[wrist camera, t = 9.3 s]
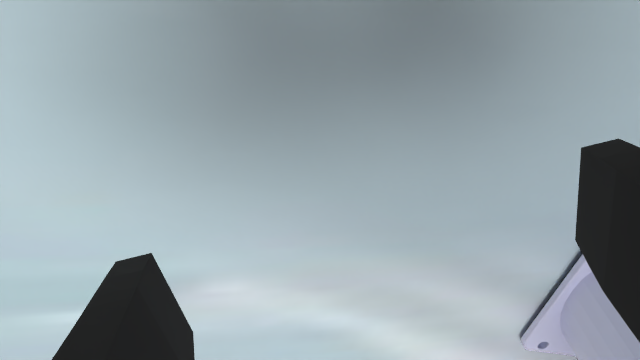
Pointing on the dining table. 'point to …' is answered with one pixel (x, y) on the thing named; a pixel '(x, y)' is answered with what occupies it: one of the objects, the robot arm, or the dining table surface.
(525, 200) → the dining table surface
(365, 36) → the dining table surface
